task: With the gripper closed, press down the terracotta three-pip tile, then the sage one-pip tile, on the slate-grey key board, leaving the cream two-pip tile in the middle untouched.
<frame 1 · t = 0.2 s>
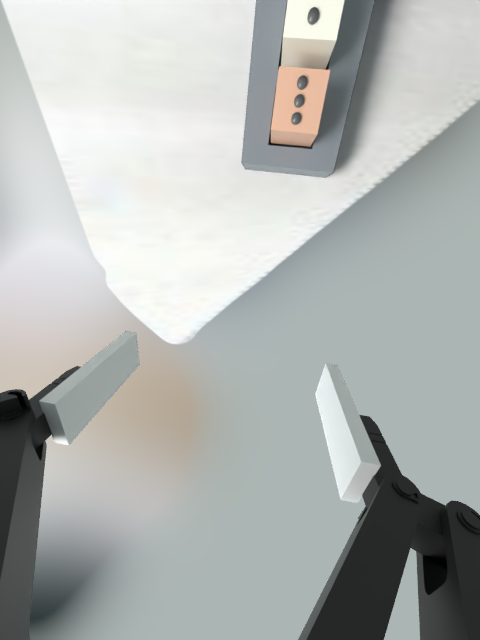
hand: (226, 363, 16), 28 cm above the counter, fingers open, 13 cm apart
tile three: (296, 111, 25), point 7 cm above the counter, slide at 0.0 cm
tile two: (311, 19, 22), point 7 cm above the counter, slide at 0.0 cm
key board: (303, 61, 29), on the counter
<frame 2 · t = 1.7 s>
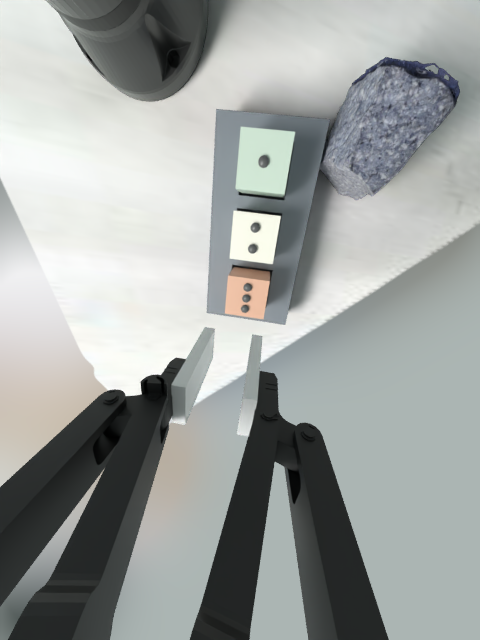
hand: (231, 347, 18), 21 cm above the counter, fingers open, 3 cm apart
tile three: (248, 292, 30), point 7 cm above the counter, slide at 0.0 cm
tile two: (255, 236, 27), point 7 cm above the counter, slide at 0.0 cm
tile one: (264, 166, 24), point 7 cm above the counter, slide at 0.0 cm
key board: (258, 232, 33), on the counter
stone: (352, 156, 28), on the counter
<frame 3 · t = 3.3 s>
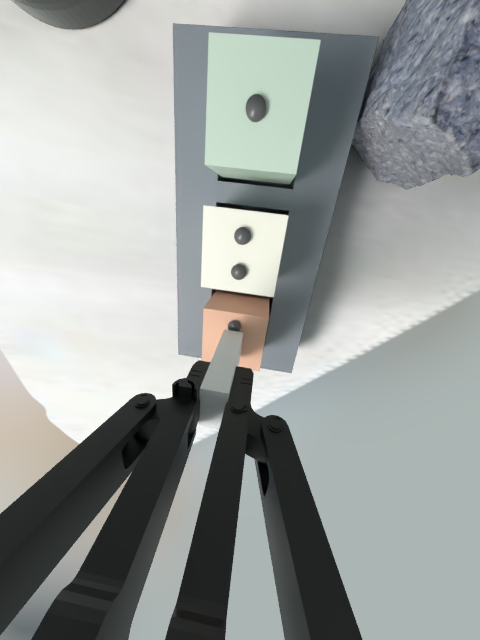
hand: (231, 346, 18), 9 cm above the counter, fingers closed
tile three: (237, 327, 20), point 6 cm above the counter, slide at 1.0 cm, touching gripper
tile two: (244, 248, 16), point 7 cm above the counter, slide at 0.0 cm
tile one: (258, 125, 13), point 7 cm above the counter, slide at 0.0 cm
key board: (252, 238, 22), on the counter
stone: (402, 119, 18), on the counter
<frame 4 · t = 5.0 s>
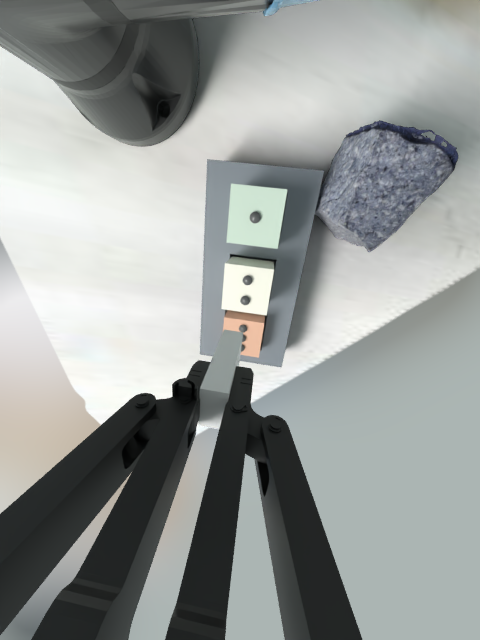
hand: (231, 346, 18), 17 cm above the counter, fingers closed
tile three: (244, 329, 31), point 4 cm above the counter, slide at 2.4 cm
tile two: (248, 284, 26), point 7 cm above the counter, slide at 0.0 cm
tile one: (256, 217, 23), point 7 cm above the counter, slide at 0.0 cm
key board: (252, 272, 32), on the counter
stone: (348, 201, 28), on the counter
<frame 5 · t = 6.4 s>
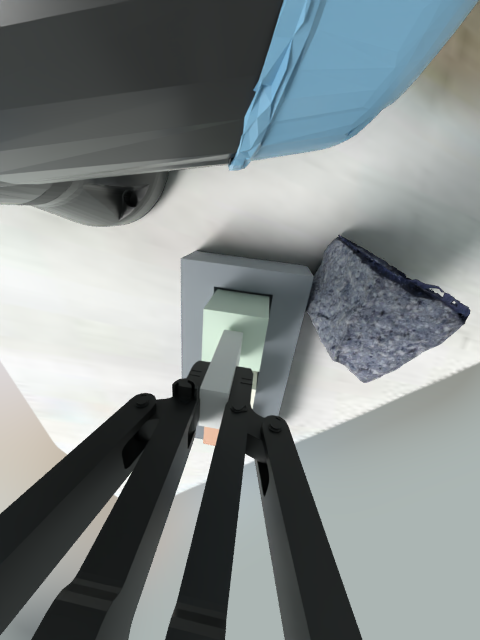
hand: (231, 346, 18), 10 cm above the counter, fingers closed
tile three: (228, 416, 29), point 4 cm above the counter, slide at 2.4 cm
tile two: (230, 387, 23), point 7 cm above the counter, slide at 0.0 cm
tile one: (236, 328, 20), point 7 cm above the counter, slide at 0.0 cm, touching gripper
key board: (238, 351, 30), on the counter
stone: (343, 288, 25), on the counter
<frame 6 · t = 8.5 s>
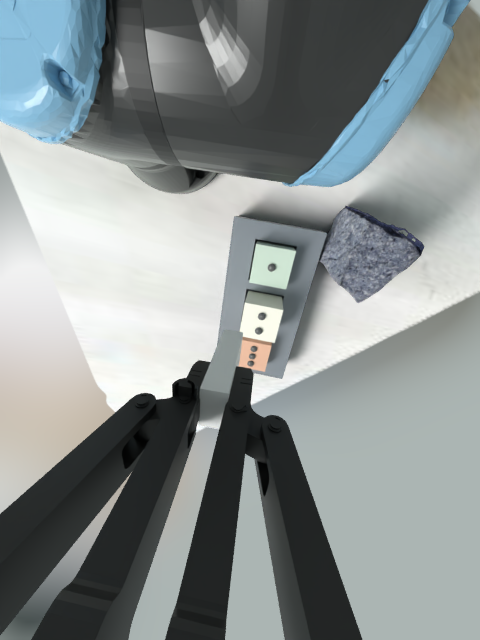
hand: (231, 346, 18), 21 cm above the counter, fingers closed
tile three: (253, 347, 37), point 4 cm above the counter, slide at 2.4 cm
tile two: (260, 316, 32), point 7 cm above the counter, slide at 0.0 cm
tile one: (271, 263, 31), point 4 cm above the counter, slide at 2.4 cm
key board: (262, 299, 38), on the counter
stone: (345, 249, 34), on the counter
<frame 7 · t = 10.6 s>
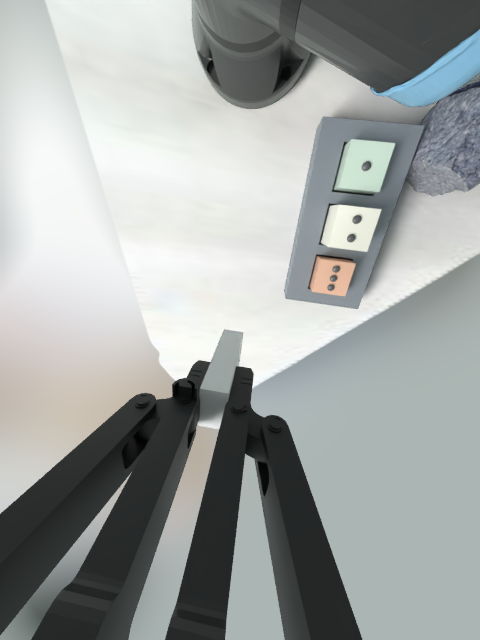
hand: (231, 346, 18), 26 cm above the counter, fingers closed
tile three: (329, 274, 36), point 4 cm above the counter, slide at 2.4 cm
tile two: (347, 227, 31), point 7 cm above the counter, slide at 0.0 cm
tile one: (359, 169, 30), point 4 cm above the counter, slide at 2.4 cm
key board: (335, 225, 37), on the counter
stone: (430, 157, 32), on the counter
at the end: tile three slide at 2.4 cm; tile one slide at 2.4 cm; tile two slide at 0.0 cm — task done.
